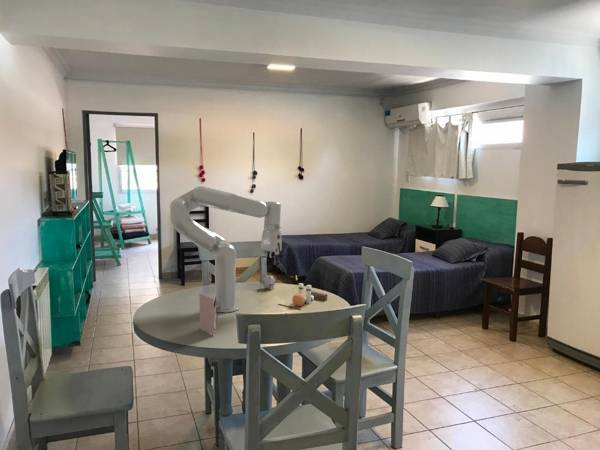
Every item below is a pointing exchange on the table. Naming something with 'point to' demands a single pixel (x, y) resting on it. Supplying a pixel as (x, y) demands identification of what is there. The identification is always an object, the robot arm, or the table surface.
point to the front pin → (311, 298)
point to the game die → (268, 282)
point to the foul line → (289, 306)
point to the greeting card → (208, 314)
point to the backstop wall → (319, 296)
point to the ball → (298, 300)
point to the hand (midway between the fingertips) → (269, 265)
